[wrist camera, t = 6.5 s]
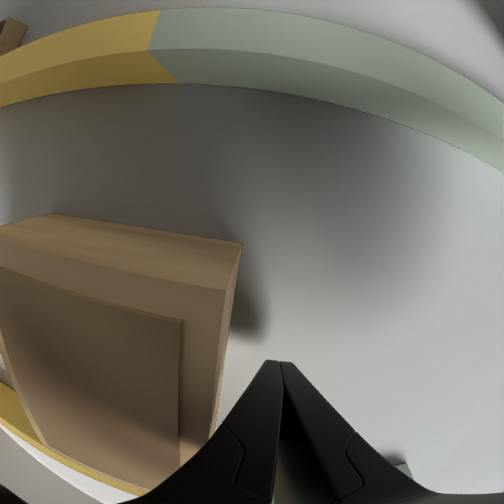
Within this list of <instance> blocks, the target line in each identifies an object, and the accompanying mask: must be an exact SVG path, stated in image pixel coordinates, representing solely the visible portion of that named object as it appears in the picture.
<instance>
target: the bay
mask: <svg viewBox="0 0 504 504" xmlns="http://www.w3.org/2000/svg"><path fill="white" fill-rule="evenodd" d="M155 83H182V84H208V85H222V86H234V87H243V88H252V89H260V90H267V91H273V92H280V93H286V94H291V95H297V96H302V97H307V98H312V99H316V100H321V101H325V102H329V103H333V104H337V105H341V106H345V107H349V108H353V109H356V110H360V111H363V112H366V113H370V114H373V115H376V116H379V117H382V118H385V119H388V120H391V121H394V122H397V123H400V124H403V125H405V126H408V127H411V128H413V129H416V130H418V131H421V132H423V133H426V134H428V135H431V136H433V137H435V138H438V139H440V140H442V141H444V142H447V143H449V144H451V145H453V146H455V147H457V148H459V149H462V150H464V151H466V152H468V153H470V154H472V155H473V156H475V157H477V158H479V159H481V160H483V161H485V162H487V163H488V164H490V165H492V166H494V167H495V168H497V169H499V170H501V171H502V172H504V103H502V102H501V101H500V100H498V99H497V98H496V97H494V96H493V95H491V94H490V93H488V92H487V91H486V90H484V89H483V88H481V87H480V86H478V85H476V84H475V83H473V82H472V81H470V80H468V79H467V78H465V77H464V76H462V75H460V74H458V73H457V72H455V71H453V70H451V69H450V68H448V67H446V66H444V65H442V64H440V63H438V62H436V61H434V60H433V59H430V58H428V57H426V56H424V55H422V54H420V53H418V52H416V51H413V50H411V49H409V48H407V47H404V46H402V45H399V44H397V43H394V42H392V41H389V40H387V39H384V38H381V37H379V36H376V35H373V34H370V33H367V32H364V31H361V30H357V29H354V28H351V27H347V26H344V25H340V24H336V23H332V22H328V21H324V20H320V19H315V18H310V17H305V16H300V15H294V14H288V13H282V12H274V11H266V10H256V9H244V8H222V7H198V8H176V9H164V10H154V11H146V12H139V13H133V14H127V15H121V16H116V17H111V18H106V19H102V20H98V21H94V22H90V23H86V24H82V25H79V26H75V27H72V28H69V29H66V30H62V31H59V32H57V33H54V34H51V35H48V36H45V37H43V38H40V39H38V40H35V41H33V42H30V43H28V44H26V45H23V46H21V47H19V48H17V49H15V50H12V51H10V52H8V53H6V54H4V55H2V56H0V107H3V106H7V105H10V104H14V103H17V102H21V101H25V100H29V99H33V98H37V97H42V96H47V95H51V94H57V93H62V92H68V91H74V90H81V89H88V88H96V87H105V86H116V85H130V84H155ZM0 424H2V425H3V426H4V427H5V428H7V429H8V430H10V431H11V432H12V433H14V434H15V435H16V436H18V437H19V438H21V439H22V440H24V441H25V442H27V443H28V444H30V445H31V446H33V447H34V448H36V449H38V450H39V451H41V452H43V453H44V454H46V455H48V456H49V457H51V458H53V459H55V460H56V461H58V462H60V463H62V464H64V465H66V466H68V467H70V468H71V469H73V470H75V471H78V472H80V473H82V474H84V475H86V476H88V477H90V478H93V479H95V480H97V481H99V482H102V483H104V484H107V485H109V486H112V487H114V488H117V489H120V490H122V491H125V492H128V493H131V494H134V495H137V496H142V495H144V494H146V493H148V492H147V491H144V490H141V489H138V488H135V487H132V486H129V485H126V484H123V483H121V482H118V481H115V480H113V479H110V478H108V477H105V476H103V475H101V474H98V473H96V472H94V471H92V470H89V469H87V468H85V467H83V466H81V465H79V464H77V463H75V462H73V461H71V460H69V459H67V458H65V457H63V456H61V455H59V454H58V453H56V452H54V451H52V450H51V449H49V448H47V447H45V446H44V445H43V444H42V442H41V441H40V439H39V437H38V436H37V434H36V432H35V430H34V428H33V426H32V425H31V423H30V421H29V419H28V417H27V415H26V413H25V411H24V409H23V407H22V405H21V403H20V400H19V398H18V396H17V394H16V391H14V390H13V389H11V388H10V387H8V386H7V385H5V384H4V383H2V382H1V381H0ZM395 467H397V468H398V469H399V470H401V471H402V472H403V473H405V474H406V475H407V476H409V477H410V478H411V479H413V477H412V474H411V472H410V469H409V467H408V464H407V463H406V464H401V465H395ZM413 480H414V479H413ZM271 504H274V491H273V499H272V503H271Z"/></svg>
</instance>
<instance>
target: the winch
mask: <svg viewBox="0 0 504 504" xmlns="http://www.w3.org/2000/svg"><path fill="white" fill-rule="evenodd" d="M26 27H27V25H25V24H22V23H20V22H18V21H16V20H14V19H12V18H10V17H8V18H6V19H4V20H3V21H1V22H0V56H2V55H4V54H6V53H8V52H10V51H12V50H15V49H17V48H18V46H19V44H20V41H21V39H22V36H23V34H24V32H25V29H26Z"/></svg>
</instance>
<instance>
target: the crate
mask: <svg viewBox="0 0 504 504" xmlns="http://www.w3.org/2000/svg"><path fill="white" fill-rule="evenodd" d="M241 248H242V243H236V242H230V241H224V240H217V239H211V238H205V237H199V236H193V235H186V234H180V233H174V232H168V231H161V230H155V229H149V228H142V227H136V226H130V225H123V224H117V223H110V222H104V221H97V220H91V219H84V218H78V217H71V216H64V215H58V214H46V215H42V216H38V217H34V218H30V219H26V220H22V221H18V222H14V223H10V224H7V225H3V226H0V352H1V355H2V358H3V361H4V364H5V366H6V369H7V372H8V374H9V377H10V379H11V382H12V384H13V387H14V389H15V391H16V394H17V396H18V398H19V400H20V403H21V405H22V407H23V409H24V411H25V413H26V415H27V417H28V419H29V421H30V423H31V425H32V426H33V428H34V430H35V432H36V434H37V436H38V437H39V439H40V441H41V442H42V444H43V445H44V446H45V447H47V448H49V449H51V450H52V451H54V452H56V453H58V454H59V455H61V456H63V457H65V458H67V459H69V460H71V461H73V462H75V463H77V464H79V465H81V466H83V467H85V468H87V469H89V470H92V471H94V472H96V473H98V474H101V475H103V476H105V477H108V478H110V479H113V480H115V481H118V482H121V483H123V484H126V485H129V486H132V487H135V488H138V489H141V490H144V491H147V492H149V491H151V490H152V489H154V488H155V487H157V486H158V485H159V484H161V483H162V482H163V481H164V480H166V479H167V478H168V477H169V476H170V475H172V474H173V473H174V472H175V471H176V470H178V469H179V468H180V467H181V466H182V465H183V464H185V463H186V462H187V461H188V460H189V459H190V458H192V457H193V456H194V455H195V454H196V453H197V452H198V451H199V450H200V449H201V448H202V447H203V446H204V445H205V444H206V442H207V441H208V440H209V439H210V438H211V436H212V435H213V434H214V433H215V426H216V418H217V411H218V404H219V396H220V389H221V382H222V375H223V368H224V361H225V354H226V347H227V340H228V334H229V327H230V320H231V313H232V307H233V300H234V293H235V287H236V280H237V274H238V267H239V261H240V254H241Z"/></svg>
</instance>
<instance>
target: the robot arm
mask: <svg viewBox="0 0 504 504" xmlns="http://www.w3.org/2000/svg"><path fill="white" fill-rule="evenodd" d="M273 491H274V504H504V493H492V494H443V493H437V492H434V491H431V490H428V489H426V488H424V487H423V486H421V485H420V484H418V483H417V482H415V481H414V480H413V479H411V478H410V477H409V476H407V475H406V474H405V473H403V472H402V471H401V470H399V469H398V468H397V467H395V466H394V465H393V464H391V463H390V462H389V461H388V460H386V459H385V458H384V457H383V456H382V455H380V454H379V453H378V452H377V451H376V450H375V449H374V448H373V447H372V446H370V445H369V444H368V443H367V442H366V441H365V440H364V439H363V438H362V437H361V436H360V435H359V434H358V433H357V432H355V430H354V429H353V428H352V427H351V426H350V424H349V423H348V422H347V421H346V420H345V419H344V418H343V417H342V416H341V415H340V414H339V413H338V412H337V411H336V410H335V409H334V408H333V406H332V405H331V404H330V403H329V402H328V401H327V400H326V399H325V398H324V397H323V396H322V395H321V394H320V392H319V391H318V390H317V389H316V388H315V387H314V386H313V385H312V384H311V383H310V381H309V380H308V379H307V378H306V377H305V376H304V375H303V374H302V373H301V372H300V370H299V369H298V368H297V367H296V366H295V365H294V364H293V363H292V362H284V361H280V362H279V361H275V360H265V362H264V363H263V365H262V366H261V368H260V369H259V371H258V372H257V374H256V375H255V377H254V378H253V380H252V381H251V383H250V384H249V385H248V387H247V388H246V390H245V391H244V393H243V394H242V396H241V397H240V398H239V400H238V401H237V403H236V404H235V406H234V407H233V408H232V410H231V411H230V413H229V414H228V415H227V417H226V418H225V420H224V421H223V422H222V424H221V425H220V426H219V427H218V429H217V430H216V431H215V433H214V434H213V435H212V436H211V438H210V439H209V440H208V441H207V442H206V444H205V445H204V446H203V447H202V448H201V449H200V450H199V451H198V452H197V453H196V454H195V455H194V456H193V457H192V458H190V459H189V460H188V461H187V462H186V463H185V464H183V465H182V466H181V467H180V468H179V469H178V470H176V471H175V472H174V473H173V474H172V475H170V476H169V477H168V478H167V479H166V480H164V481H163V482H162V483H161V484H159V485H158V486H157V487H155V488H154V489H152V490H151V491H149V492H148V493H146V494H144V495H142V496H140V497H138V498H135V499H132V500H129V501H125V502H122V503H118V504H271V503H272V499H273ZM0 504H28V503H26V502H25V501H24V500H22V499H21V498H19V497H18V496H17V495H15V494H14V493H13V492H11V491H10V490H9V489H7V488H6V487H5V486H3V485H2V484H0Z"/></svg>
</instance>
